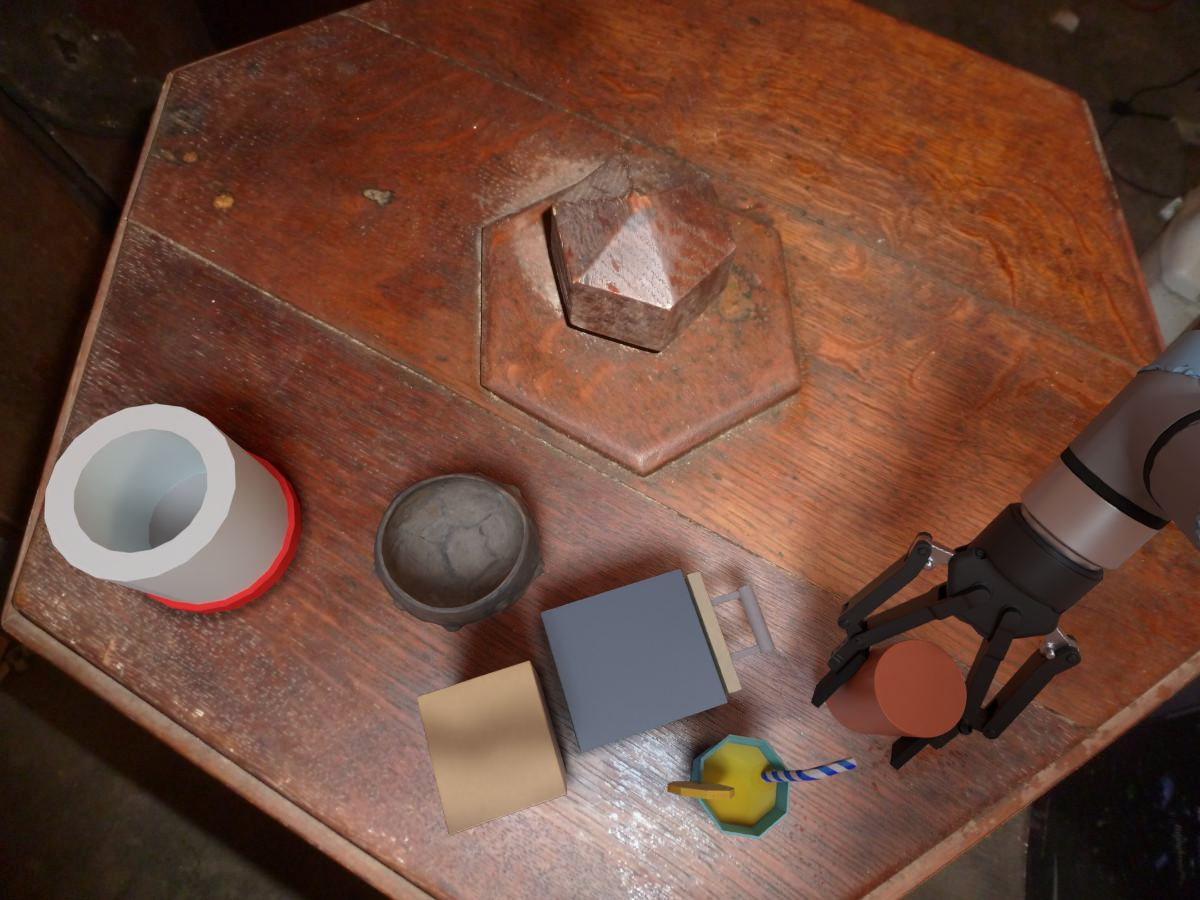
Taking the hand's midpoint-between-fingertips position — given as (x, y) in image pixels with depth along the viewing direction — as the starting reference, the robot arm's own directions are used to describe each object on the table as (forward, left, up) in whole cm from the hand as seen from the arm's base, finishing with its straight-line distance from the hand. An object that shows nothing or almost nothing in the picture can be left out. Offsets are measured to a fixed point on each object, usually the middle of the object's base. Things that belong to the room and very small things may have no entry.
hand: (855, 726), depth 64 cm
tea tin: (+2, -3, -4) cm, 5 cm away
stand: (+8, +28, -8) cm, 30 cm away
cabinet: (+11, +16, -8) cm, 21 cm away
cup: (-1, +10, -8) cm, 13 cm away
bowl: (+25, +28, -8) cm, 39 cm away
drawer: (+11, +12, -7) cm, 17 cm away
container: (+35, +50, -8) cm, 62 cm away
